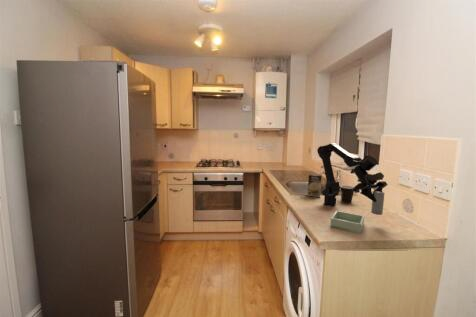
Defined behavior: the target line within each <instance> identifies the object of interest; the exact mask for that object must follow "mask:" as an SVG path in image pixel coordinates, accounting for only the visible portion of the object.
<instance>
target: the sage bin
mask: <svg viewBox="0 0 476 317" xmlns="http://www.w3.org/2000/svg"><path fill="white" fill-rule="evenodd" d="M364 224H365V215H363V214H362V215H361V214H356V213H351V212H346V211H341V210H335V212H334V214H332V216H331V218H330V228H334V229H340V230H344V231H347V232H352V233H355V234H362V232H363V228H364Z"/></svg>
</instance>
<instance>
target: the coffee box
mask: <svg viewBox="0 0 476 317" xmlns="http://www.w3.org/2000/svg"><path fill="white" fill-rule="evenodd" d="M322 176H323V175H322V174H319V173H308V181H307V182H308V183H307V194H306V196H307V195H308V196H307V197H309V196H315V197H314V198H318V197H320V198H321V193H322V190H321V189H322V188H321V187H322Z"/></svg>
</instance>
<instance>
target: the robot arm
mask: <svg viewBox="0 0 476 317" xmlns="http://www.w3.org/2000/svg"><path fill="white" fill-rule="evenodd" d="M332 153H335V154H336V155H337V156H338V157H340V158H341V159H342V160H343V161H344V164H345V165H346V166H348V167H350V168H351V170H350V174H355V176H356V177H357V182H358V183H356V185H355V186H353V187H354V188H353V191H354V193H355V194H357V193H359V194H360V195H363V196H364V197H366V198H368V199H370V200H371V202H372V201H374V202H376V199H375V197H374V195H373V191H380V192H383V189H384V188H385V187H387V186H388V183H387V181H385V180H383V179H384V177H385V174H383V173H382V172H381V171H380V172H379V171H378V172H376V173H373V174H372V173H368V172H370V171H371V170H372V169H373V168H374V167H376V166H377V165H378V164H379V162H378V159H376V158H375V157H373V156H371V155H370V154H366V155H365V156H364V158H361V157H360V156H359V155H356V154H352V153H349V151H347V150H346V149H344V148H343V147H341V146H340V145H339V144H338V143H335V142H334V143H328V144H325V145H320V146H319V147H317V156H318V157H319V158H320V159H321V161H322V166H323V170H324V174H325V180H326V182H325V185H324V187H325V189H323V190H321V194H322V196H323V197H324V199H323V201H324V202H323V203H322V205H324V206H329V207H335V206H336V205H337V198H336V197H337V196H339V193H341V185H340V182H339V181H337V180H336V179H335V175H334V171H333V166H332V161H331V156H332ZM353 167H354V168H353ZM372 190H373V191H372Z"/></svg>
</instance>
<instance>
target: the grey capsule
mask: <svg viewBox="0 0 476 317" xmlns="http://www.w3.org/2000/svg"><path fill="white" fill-rule="evenodd" d="M372 193H373V195H374V197H375V199H376V202H374V201H372V200H371V209H370V211H371V212H370V213H372V214H373V215H377V216H381V215H383V212H384V202H385V192H383V191H382V192H380V191H374V190H373V191H372Z"/></svg>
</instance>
